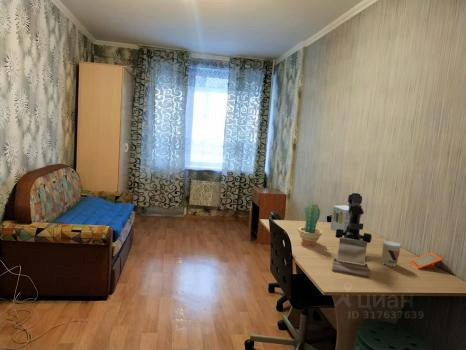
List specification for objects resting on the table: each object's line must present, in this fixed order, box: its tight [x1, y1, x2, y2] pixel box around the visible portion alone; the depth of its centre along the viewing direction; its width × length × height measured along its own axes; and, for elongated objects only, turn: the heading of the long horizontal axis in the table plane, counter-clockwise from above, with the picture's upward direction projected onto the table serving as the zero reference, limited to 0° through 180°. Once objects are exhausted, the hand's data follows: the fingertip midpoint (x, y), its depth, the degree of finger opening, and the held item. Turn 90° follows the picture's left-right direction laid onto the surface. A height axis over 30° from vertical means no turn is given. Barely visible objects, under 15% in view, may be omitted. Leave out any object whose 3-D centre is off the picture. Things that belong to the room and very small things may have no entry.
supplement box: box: [330, 204, 350, 232], centre depth 266 cm, size 13×13×18 cm
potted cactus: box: [297, 202, 323, 246], centre depth 231 cm, size 15×15×25 cm
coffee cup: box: [381, 240, 402, 267], centre depth 205 cm, size 9×9×12 cm
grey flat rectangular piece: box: [336, 236, 368, 265], centre depth 197 cm, size 12×14×2 cm
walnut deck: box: [331, 257, 370, 279], centre depth 192 cm, size 14×18×2 cm
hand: (352, 249), depth 198 cm, fingers closed
